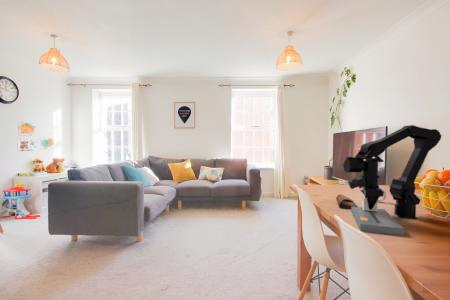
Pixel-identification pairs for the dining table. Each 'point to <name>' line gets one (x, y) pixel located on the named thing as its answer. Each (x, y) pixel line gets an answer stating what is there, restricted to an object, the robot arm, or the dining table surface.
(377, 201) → the ring
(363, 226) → the fader console
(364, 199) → the fader knob
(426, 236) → the dining table surface
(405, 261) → the dining table surface
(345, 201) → the sunglasses case
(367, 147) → the robot arm
